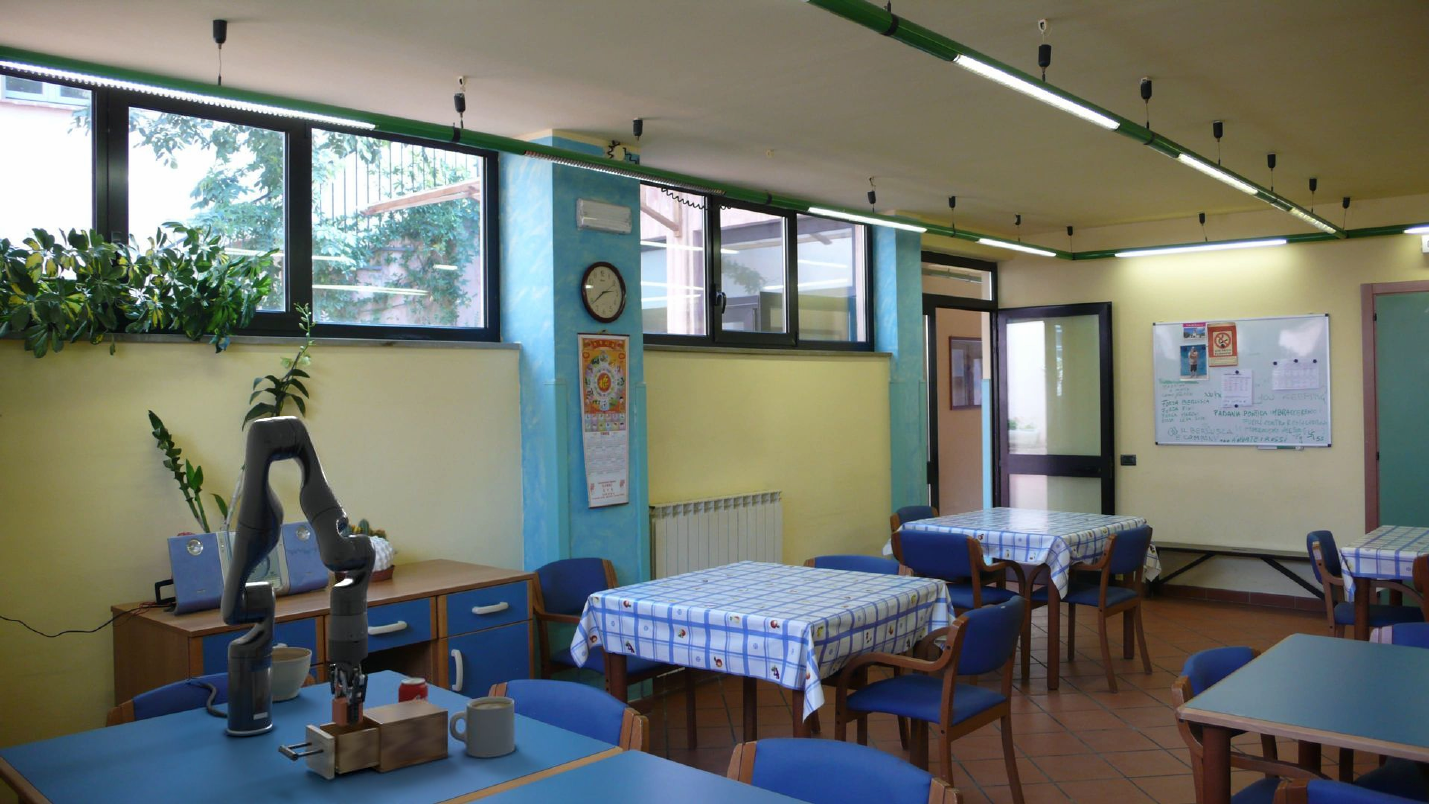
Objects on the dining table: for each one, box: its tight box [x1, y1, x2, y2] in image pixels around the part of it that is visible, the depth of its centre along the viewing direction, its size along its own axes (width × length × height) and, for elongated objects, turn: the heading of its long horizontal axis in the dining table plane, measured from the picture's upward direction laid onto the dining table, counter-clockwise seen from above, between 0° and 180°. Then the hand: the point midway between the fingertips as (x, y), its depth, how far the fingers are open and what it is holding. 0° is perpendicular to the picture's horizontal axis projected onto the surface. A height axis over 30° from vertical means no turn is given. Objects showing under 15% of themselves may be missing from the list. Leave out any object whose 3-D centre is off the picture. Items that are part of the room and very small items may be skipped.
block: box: [331, 697, 364, 726], centre depth 209 cm, size 4×4×4 cm
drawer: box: [277, 719, 380, 780], centre depth 207 cm, size 20×11×8 cm, turn 132°
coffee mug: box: [448, 696, 515, 758], centre depth 222 cm, size 13×10×10 cm
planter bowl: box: [272, 646, 313, 702], centre depth 263 cm, size 16×16×11 cm
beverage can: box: [397, 677, 429, 703], centre depth 232 cm, size 6×6×12 cm
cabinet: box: [363, 699, 449, 773], centre depth 217 cm, size 15×13×10 cm
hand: (347, 720), depth 209 cm, fingers closed on block, 4 cm apart
